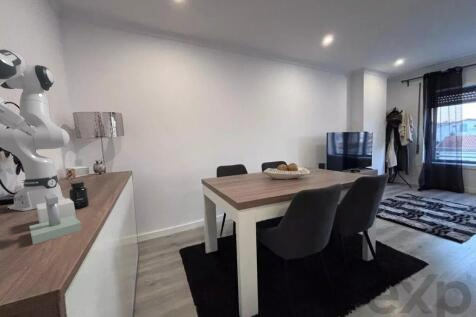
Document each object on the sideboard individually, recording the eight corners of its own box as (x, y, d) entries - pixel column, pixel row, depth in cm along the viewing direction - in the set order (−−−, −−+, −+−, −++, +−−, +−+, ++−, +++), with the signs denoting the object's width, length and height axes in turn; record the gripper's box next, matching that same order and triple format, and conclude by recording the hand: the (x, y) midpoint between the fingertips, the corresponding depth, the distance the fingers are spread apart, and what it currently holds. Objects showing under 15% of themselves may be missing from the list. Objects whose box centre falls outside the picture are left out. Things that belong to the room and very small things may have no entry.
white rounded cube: (38, 221, 80) (36, 204, 80) (70, 213, 88) (68, 198, 87) (41, 228, 74) (38, 209, 73) (76, 219, 81) (73, 202, 81)
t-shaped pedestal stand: (30, 233, 70) (24, 197, 68) (74, 221, 79) (70, 189, 77) (33, 244, 62) (26, 204, 60) (81, 230, 71) (77, 194, 69)
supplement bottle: (79, 209, 93) (75, 184, 91) (67, 209, 94) (63, 184, 93) (92, 204, 99) (89, 180, 98) (81, 204, 101) (78, 180, 99)
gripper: (-4, 93, 63) (44, 126, 71) (-2, 103, 76) (38, 129, 85) (-25, 107, 60) (27, 139, 68) (-19, 114, 73) (24, 140, 82)
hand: (33, 134), depth 76 cm, fingers open, 8 cm apart
